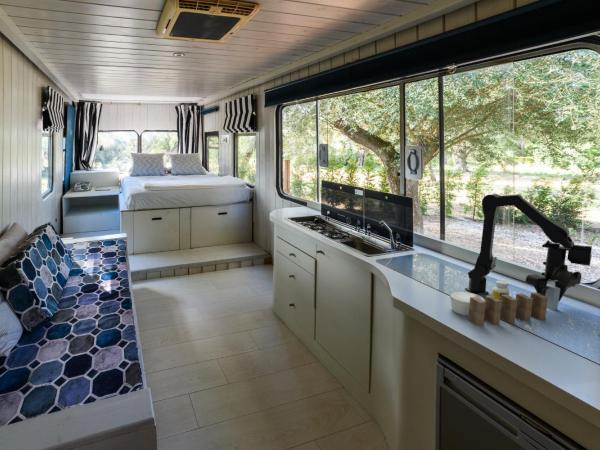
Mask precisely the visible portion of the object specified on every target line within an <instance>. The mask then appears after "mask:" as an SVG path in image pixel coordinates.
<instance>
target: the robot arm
mask: <svg viewBox="0 0 600 450" xmlns="http://www.w3.org/2000/svg"><path fill="white" fill-rule="evenodd" d="M510 206H513V207H515V208H516V209H517V210H519V211H520V212H521V213H523V215H525V216H526V217H527V218H528V219H530V220H531V221H532V222H533V223H535V225H537V226H539V228H540V229H541V230H542V232H543V233H544V234H545V236H546V237H547V238H548V239H549V240H547V241H546V242H544V243H543V244H542V245H541V248H547V250H546V251H547V253H546V261H543V262H542V265H544V266H545V268H544V272H543V271H542V272H541V275H538V274H528V275H526V277H525V283H527V284H530V285H532V286H533V287H534V290H535V291H536V292H537V293H539V294H541V295H544V296H545V295H546V290H547V289H548V288H550V287H548V286H547V284H548V283H554V286H555V287H558V288H560V294H559V301H558V303H559V302H561V300H562V298H563V296H564V295H565V293H566V291H567V290H568V289H570V288H572V287H576V285H580V284H581V282H582V277H583V276H582V273H581V272H580V271H574V272H573V271H569V266H568V264H566V259H567V260H568V262H570V264H574V265H580V266H586V267H590V266H591V263H592V256H593V255H592V250H593V246H592V245H579V244H575V243H574V240H573V239H572V238H571V236H570V230H569V228H568V227H566V226H565V225H562V224H561V223H559V222H558V221H555V220H553V219H551V218H549V217H548V216H547V215H545V214H544V213H543V212H541V211H540V210H539V209H538V208H536V206H534V205H533V204H531V202H529V201H528V200H526V199H525V198H524V197H523V196H522V195H521V194H514V195H513V194H509V195H507V194H506V195H505V194H504V195H500V194H498V193H490V194H487V195H485V196H484V197H483V198H482V201H481V208H482V214H483V225H482V231H481V232H482V235H481V242H480V252H479V254H478V256H477V259H476V261H475V264H474V268H473V269H471V270H470V271H469V272H467V275H468V278H469V280H468V287H465V288H464V290H466V291H468V293H473V294H476V295H484V294H489V291H487V290H486V289H487V278H486V277H487V276H488V275H489V274H490V273H491V272H492V271H493V270H494V269H495V268H496V267H497V265H496V261H497V257H496V256H494V255H493V246H494V239H495V230H496V222H497V217H498V215H499V212H500V209H501V207H510ZM566 255H567V256H566ZM566 257H567V258H566ZM536 292H535V293H536Z"/></svg>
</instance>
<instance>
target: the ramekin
mask: <svg viewBox="0 0 600 450" xmlns="http://www.w3.org/2000/svg"><path fill="white" fill-rule="evenodd" d="M449 297H450V307H451V309H452V310H453V311H454V313H456V314H459V315H463V316H467V317H468V314H469V304H470V297H477V298H479V299H481V300H483V301H485V300H486V299H485V298H484V297H482V296H480V294H473V293H471V292H469V291H468V292H465V291H464V292H463V291H455V292H452V293H450V296H449Z"/></svg>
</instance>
